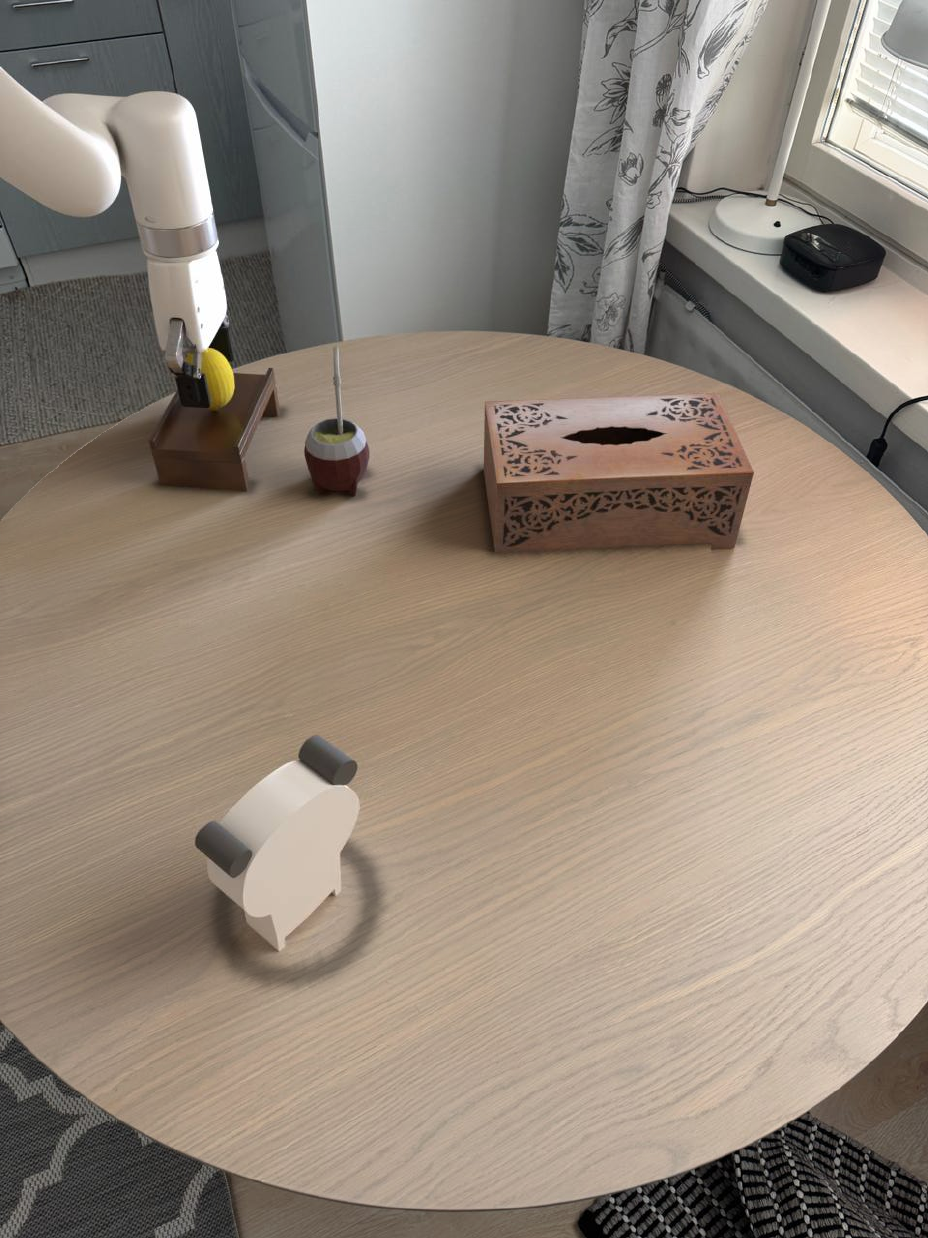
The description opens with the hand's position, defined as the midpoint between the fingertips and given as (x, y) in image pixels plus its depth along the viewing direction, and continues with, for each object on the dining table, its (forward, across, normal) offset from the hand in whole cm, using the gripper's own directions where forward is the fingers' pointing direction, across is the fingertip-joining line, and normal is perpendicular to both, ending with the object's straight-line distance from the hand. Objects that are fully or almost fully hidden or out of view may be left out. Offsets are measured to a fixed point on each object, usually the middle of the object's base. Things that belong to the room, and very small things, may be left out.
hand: (209, 382), depth 111 cm
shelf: (+10, 0, 0) cm, 10 cm away
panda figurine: (+10, +57, +22) cm, 62 cm away
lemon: (+4, 0, 0) cm, 4 cm away
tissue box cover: (+10, +6, +45) cm, 47 cm away
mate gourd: (+10, +5, +15) cm, 19 cm away
